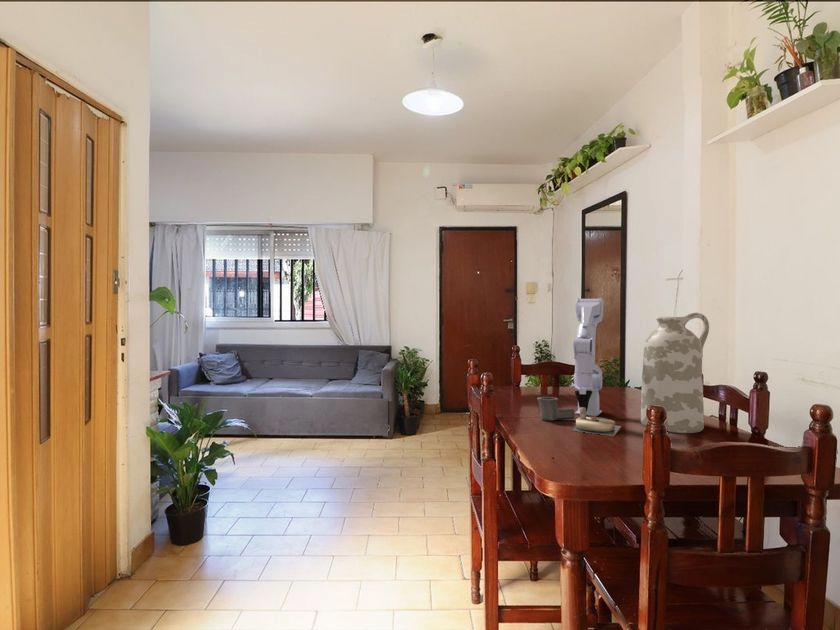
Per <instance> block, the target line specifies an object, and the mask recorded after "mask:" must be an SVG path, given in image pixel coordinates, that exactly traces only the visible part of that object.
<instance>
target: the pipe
mask: <svg viewBox="0 0 840 630" xmlns="http://www.w3.org/2000/svg"><path fill="white" fill-rule="evenodd" d="M536 399H537V401H538V405H539V410H540V419H541V420H542V421H544V422H545V421H547V422H549V421H550V422H551V421H553V422H554V421H560V420H573V419H575V416H576V414H575V410H574V408H572V407H569V408H568V407H567V408H558V402H559V398H558V397H551V396H540V397H537V398H536Z"/></svg>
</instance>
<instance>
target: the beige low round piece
mask: <svg viewBox="0 0 840 630" xmlns="http://www.w3.org/2000/svg"><path fill="white" fill-rule="evenodd" d="M615 425H616V421H614V420H613V419H609V418H606V417H600V416H599V417H598V416H591V415H589V416H587V415H586V408H584V407H581V408H580V414H579V417H577V418H576V419H575V426H576V427H578V428H580V429H584V430H588V431H598V432H605V431H612V430H614V429H615Z"/></svg>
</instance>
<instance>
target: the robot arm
mask: <svg viewBox="0 0 840 630" xmlns="http://www.w3.org/2000/svg"><path fill="white" fill-rule="evenodd" d="M575 313H576V319H577V321H578V322H580V324H579V325H577V330H576V338H575V339H574V340H573V343H572V345H573V347H572V351H573V359H574V374H573V384H570V385H571V388H574V389H576V390H575V391H574V395H575V396H576V399H577V410H576V411H574V413H575V415H580V408H581V407H584V408H586V416H596V417H598V416H599V415H600V414H601V413H602V412H603V410H601V409H600V394H599V390H600V391H601V390H602V388H603V371H602V368H601V367H600V366H598V365H597V364H596V363H595V362H596V359H595V358H596V336H597V331H596V330H597V326H598V324H599V323H601V322H602V321H603V318H604V300H603V298H602V297H599V298H577V299H576V300H575Z"/></svg>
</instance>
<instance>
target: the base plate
mask: <svg viewBox="0 0 840 630" xmlns="http://www.w3.org/2000/svg"><path fill="white" fill-rule="evenodd" d="M621 428H622V425H616V424H615V429H614V430H612V431H605V432H598V431H588V430H584V429H580V428H578V427H576V425H575V426H574V427H573V428H572V429H571V431H570V432H575V431H577V433H583V432H585V434H591V433H592V434H591V435H598V434H600V435H601V436H609V437H615V436H616V435H617V434H618V432H619V431H620V429H621Z"/></svg>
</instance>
